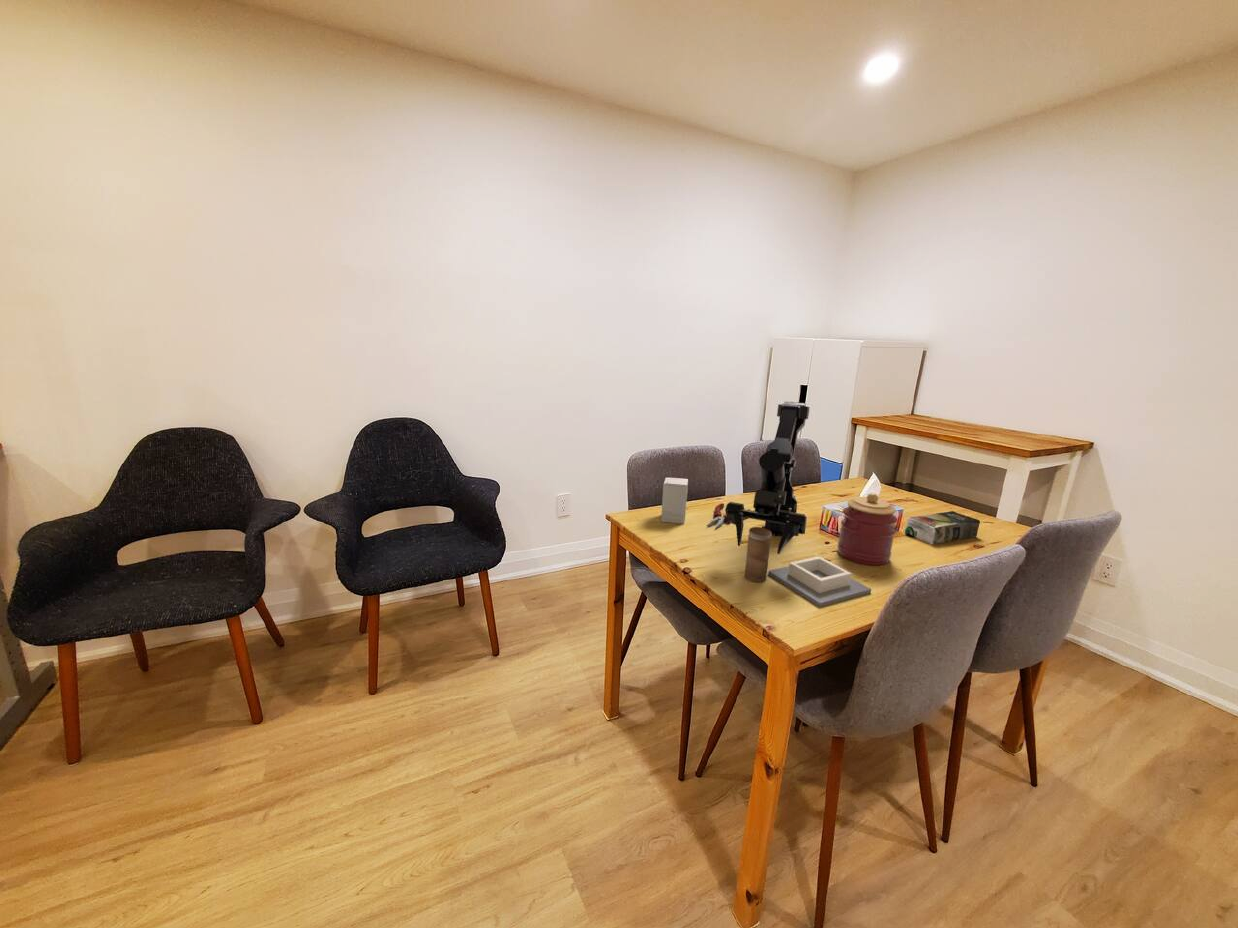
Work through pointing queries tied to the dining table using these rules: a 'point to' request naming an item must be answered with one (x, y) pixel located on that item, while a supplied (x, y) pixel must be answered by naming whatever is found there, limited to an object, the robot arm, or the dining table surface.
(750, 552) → the brown upright cylinder
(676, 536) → the dining table surface
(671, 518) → the supplement box
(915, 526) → the juice carton
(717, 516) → the pliers
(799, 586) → the docking plate
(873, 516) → the canister
